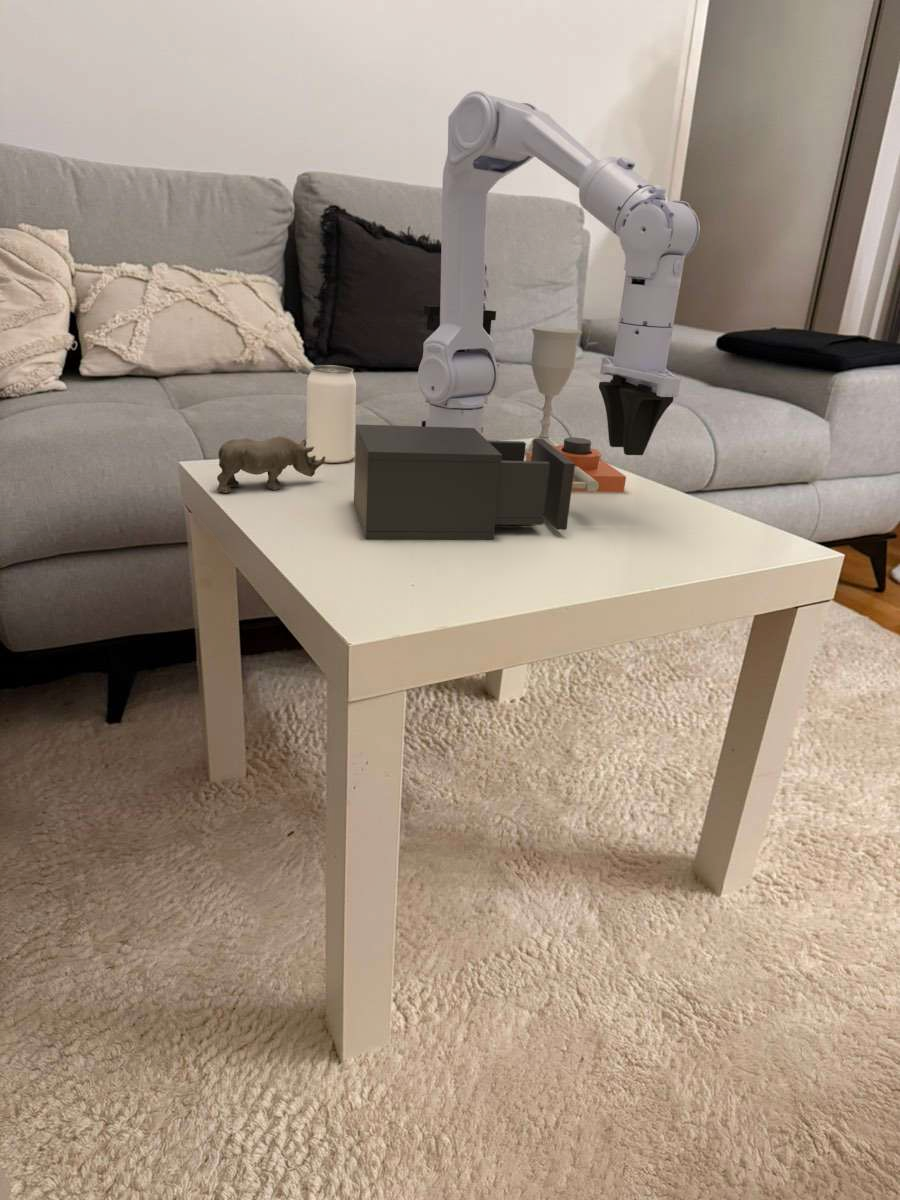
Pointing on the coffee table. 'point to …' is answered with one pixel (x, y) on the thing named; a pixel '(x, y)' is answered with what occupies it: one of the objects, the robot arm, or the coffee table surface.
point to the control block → (595, 470)
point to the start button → (577, 446)
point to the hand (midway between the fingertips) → (626, 450)
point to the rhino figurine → (263, 460)
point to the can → (331, 413)
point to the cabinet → (425, 482)
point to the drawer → (536, 484)
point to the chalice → (552, 367)
